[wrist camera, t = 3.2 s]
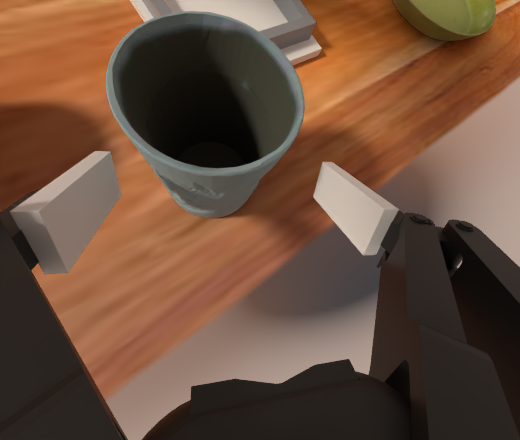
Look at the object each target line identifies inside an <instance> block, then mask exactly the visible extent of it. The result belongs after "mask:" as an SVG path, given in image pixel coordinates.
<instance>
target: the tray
mask: <svg viewBox="0 0 520 440" xmlns="http://www.w3.org/2000/svg"><path fill="white" fill-rule="evenodd" d="M130 1H131V3H132V4H133V6H134V7H135V9H136V10H137V12H138V13H139V15H140V17H141V18H142V20H143V21H144V22H146V21H148V20H150V19H152V18H156V17H159V16H163V15H167V14H171V13H175V12H184V11H199V12H212V13H216V14H220V15H224V16H228V17H231V18H233V19H236V20H238V21H241V22H243V23H245V24H247V25H249V26H251V27H252V28H254V29H256V30H257V31H259V32H260V33H262V34H263V35H265V36H266V37H267V38H269V39H270V40H271V41H272V42H274V43H275V44H276V45H277V47H278V48H279V49H280V50H281V51H282V52H283V53H284V54H285V55H286V57H287V58H288V59H289V61H290V62H291V64H292V66H293V65H296V64H298V63H301V62H303V61H306V60H308V59H311V58H314V57H316V56H318V55H319V53H320V51H321V49H322V48H321V47H320V45H319V44H318V42H317V41H316V40H315V38H314V37H313V35H312V32H313V30H314V28H315V25H316V21H315V20H314V19H313V17H312V16H311V14H310V13H309V12H308V10H307V9H306V7H305V6H304V5H303V3H302V2H301V0H130Z"/></svg>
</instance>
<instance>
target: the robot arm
mask: <svg viewBox="0 0 520 440" xmlns="http://www.w3.org/2000/svg"><path fill="white" fill-rule="evenodd" d="M120 197H121V192H120V188H119V184H118V180H117V176H116V172H115V168H114V163H113V159H112V155H111V152H108V151H94V152H93V153H92V154H90V155H89V156H87V157H86V158H84V159H83V160H82V161H80V162H79V163H77V164H76V165H75V166H73V167H72V168H70V169H69V170H68V171H66V172H65V173H63V174H62V175H61V176H59V177H58V178H56V179H55V180H53V181H52V182H51V183H49V184H48V185H46V186H45V187H44V188H41V189H39V190H36V191H33V192H31V193H29V194H27V195H26V196H24V197H23V198H21V199H20V200H18V201H17V202H15V203H14V204H13V206H10V207H8V208H7V209H5V210H4V211H2V212H1V213H0V440H128V439H127V438H126V436H125V434H124V432H123V431H122V429H121V427H120V426H119V424H118V422H117V421H116V419H115V417H114V415H113V414H112V412H111V410H110V408H109V407H108V405H107V403H106V401H105V400H104V398H103V396H102V394H101V393H100V391H99V389H98V387H97V386H96V384H95V382H94V380H93V378H92V377H91V375H90V373H89V371H88V370H87V368H86V366H85V364H84V363H83V361H82V359H81V357H80V356H79V354H78V352H77V350H76V349H75V347H74V345H73V343H72V342H71V340H70V338H69V336H68V334H67V333H66V331H65V329H64V327H63V326H62V324H61V322H60V320H59V319H58V317H57V315H56V313H55V312H54V310H53V308H52V306H51V305H50V303H49V301H48V299H47V298H46V296H45V294H44V292H43V290H42V289H41V287H40V285H39V283H38V282H37V280H36V278H35V276H34V275H33V273H32V271H31V270H32V269H33V268H34V267H35V266H36V264H37V263H39V265H40V267H41V268H42V270H43V272H44V274H56V273H68V272H69V271H70V270H71V268H72V267H73V265H74V264H75V262H76V261H77V259H78V258H79V256H80V255H81V253H82V252H83V251H84V249H85V248H86V246H87V245H88V243H89V242H90V240H91V239H92V237H93V236H94V235H95V233H96V232H97V230H98V229H99V227H100V226H101V224H102V223H103V221H104V220H105V219H106V217H107V216H108V214H109V213H110V211H111V210H112V208H113V207H114V205H115V204H116V203H117V201H118V200H119V198H120ZM313 197H314V199H315V200H316V201H317V202H318V203H319V204H320V206H321V207H322V208H323V209H324V210H325V211H326V213H327V214H328V215H329V216H330V217H331V218H332V220H333V221H334V222H335V223H336V224H337V225H338V227H339V228H340V229H341V230H342V231H343V232H344V234H345V235H346V236H347V237H348V238H349V239H350V240H351V242H352V243H353V244H354V245H355V246H356V248H357V249H358V250H359V251H360V252H361V253H362V254H363V255H376V254H377V252H378V250H379V247H380V246H382V247H383V248H384V249H385V252H384V254H383V256H382V258H381V260H380V262H379V263H378V265H377V267H378V268H379V267H380V266H381V274H380V283H379V292H378V301H377V310H376V320H375V329H374V339H373V347H372V356H371V366H370V371H369V375H366V374H363V373H359V372H355V370H354V368H353V366H352V364H351V362H350V360H349V359H346V360H340V361H335V362H329V363H324V364H317V365H314V366H312V367H310V368H309V369H307V370H305V371H303V372H301V373H300V374H298V375H296V376H294V377H292V378H290V379H288V380H287V381H285V382H283V383H280V384H272V383H264V382H256V381H248V380H239V379H232V380H226V381H220V382H215V383H210V384H204V385H197V386H192V387H191V400H190V401H188V402H186V403H184V404H182V405H180V406H179V407H177V408H176V409H174V410H173V411H171V412H170V413H169V414H167V415H166V416H165V417H164V418H163V419H161V420H160V421H159V422H158V423H157V424H156V425H155V426H154V427H153V428H152V429H151V430H150V431H149V432H148V433H147V434H146V435H145V437H144V438H143V439H142V440H520V267H519V266H517V264H515V263H514V262H513V261H512V260H511V259H510V258H509V257H508V256H507V255H506V254H505V253H504V252H503V251H502V250H501V249H500V248H499V247H497V246H496V245H495V244H494V243H493V242H492V241H491V240H490V239H489V238H488V237H487V236H486V235H485V234H484V233H483V232H482V231H480V230H479V229H478V228H476V227H475V226H473V225H472V224H470V223H467V222H465V221H459V220H449V221H448V223H447V224H446V226H445V227H444V228H441V227H435V224H434V223H433V222H432V221H431V220H430V219H428V218H426V217H424V216H422V215H419V214H414V213H405V214H403V213H402V212H401V211H399V209H398V208H396V207H394V206H393V205H392V204H391V203H389V202H388V201H386V200H385V199H384V198H382V197H381V196H379V195H378V194H377V193H375V192H374V191H372V190H371V189H370V188H368V187H367V186H365V185H364V184H363V183H361V182H360V181H358V180H357V179H355V178H354V177H353V176H351V175H350V174H348V173H347V172H346V171H344V170H343V169H341V168H340V167H339V166H337V165H336V164H334V163H333V162H322V165H321V169H320V173H319V177H318V181H317V184H316V188H315V192H314V196H313ZM462 259H463V260H462ZM461 260H462V264H461V266H460V267H459V268H458V269H457V266H458V264H459V263H460V262H461Z"/></svg>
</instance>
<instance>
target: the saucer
mask: <svg viewBox="0 0 520 440" xmlns="http://www.w3.org/2000/svg"><path fill="white" fill-rule="evenodd" d="M392 1H393V3H394V5H395V7H396V8H397V10H398V11H399V13H400V14H401V15H402V16H403V17H404V19H405V20H406V21H407V22H408V23H409V24H411V25H412V26H413V27H414V28H416V29H417V30H418V31H420V32H421V33H423V34H425V35H427V36H429V37H431V38H434V39H438V40H442V41H457V40H463V39H468V38H472V37H475V36H477V35H480V34H482V33H484V32H486V31H487V30H488V29H489V28H490V27H491V26H492V24H493V22H494V19H495V14H496V8H495V1H494V0H392Z"/></svg>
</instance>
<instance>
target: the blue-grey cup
mask: <svg viewBox="0 0 520 440" xmlns="http://www.w3.org/2000/svg"><path fill="white" fill-rule="evenodd" d="M106 91H107V97H108V101H109V104H110V108H111V110H112V112H113V115H114V117H115V118H116V120H117V121H118V123H119V125H120V126H121V128H122V129H123V131H124V132H125V134H126V135H127V136H128V137H129V139H130V140H131V141H132V143H133V144H134V145H135V146H136V148H137V149H138V150H139V151H140V153H141V154H142V155H143V157H144V158H145V160H146V161H147V162H148V164H149V165H151V167H152V168H153V170H154V171H155V173H156V175H157V176H158V178H159V179H160V180H161V182H162V183H163V184H164V186H165V187H166V188H167V190H168V191H169V193H170V194H171V196H172V197H173V199H174V200H175V201H176V202H177V203H178V205H179V206H181V207H182V208H183V209H184V210H186V211H187V212H189V213H191V214H193V215H197V216H200V217H205V218H219V217H224V216H227V215H229V214H232V213H233V212H235V211H237V210H238V209H239V208H240V207H241V206H243V204H244V203H245V202H246V201H247V200H248V198H249V197H250V196H251V194H252V193H253V191H254V190H255V189H256V188H257V186H258V183H259V181H260V179H261V178H262V177H263V176H264V175H265V174H266V173H268V172H269V171H270V170H271V169H272V168H273V167H274V166H275V164H276V163H277V162H278V161H279V160H280V159H281V157H282V156H283V155H284V154H285V153H286V151H287V150H288V149H289V148H290V146H291V145H292V144H293V142H294V140H295V139H296V137H297V135H298V133H299V130H300V128H301V125H302V122H303V117H304V109H305V106H304V95H303V90H302V86H301V83H300V80H299V77H298V75H297V73H296V71H295V69H294V67H293V66H292V64H291V62H290V61H289V59H288V58H287V57H286V55H285V54H284V53H283V52H282V51H281V50H280V49H279V48H278V47H277V45H276V44H275V43H274V42H272V41H271V40H270V39H269V38H267V37H266V36H265V35H263V34H262V33H260V32H259V31H257V30H256V29H254V28H252V27H251V26H249V25H247V24H245V23H243V22H241V21H238V20H236V19H233V18H231V17H228V16H224V15H220V14H216V13H212V12H199V11H184V12H175V13H171V14H167V15H163V16H159V17H156V18H152V19H150V20H148V21H146V22H144V23H142V24H141V25H139V26H137V27H135V28H134V29H132V30H131V31H130V32H129V33H128V34H127V35H126V36H124V37H123V39H122V40H121V41H120V43H119V44H118V45H117V47H116V48H115V50H114V52H113V54H112V56H111V58H110V61H109V65H108V69H107V73H106Z"/></svg>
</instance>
